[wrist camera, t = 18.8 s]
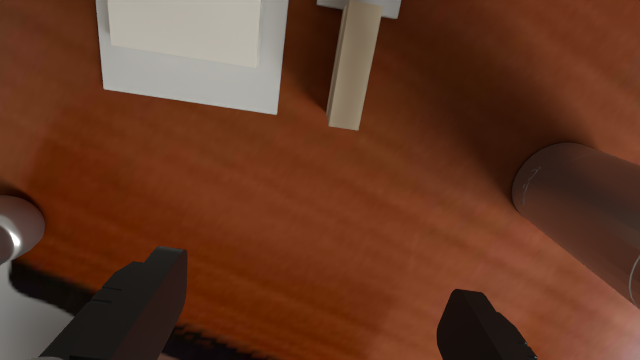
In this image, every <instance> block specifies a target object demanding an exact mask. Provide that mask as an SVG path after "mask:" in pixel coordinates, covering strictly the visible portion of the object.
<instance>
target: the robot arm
mask: <svg viewBox="0 0 640 360" xmlns="http://www.w3.org/2000/svg"><path fill="white" fill-rule="evenodd" d="M512 199H513V203H514V205H515V207H516V209H517V210H518V212H519V213H520V214H521V215H522V216H523V217H525V218H526V219H527V220H528V221H530V222H531V223H532V224H533V225H535V226H536V227H537V228H538V229H540V230H541V231H542V232H543V233H544V234H546V235H547V236H548V237H549V238H551V239H552V240H553V241H554V242H556V243H557V244H558V245H560V246H561V247H562V248H563V249H565V250H566V251H567V252H568V253H570V254H571V255H572V256H573V257H575V258H576V259H577V260H578V261H580V262H581V263H582V264H583V265H585V266H586V267H587V268H588V269H590V270H591V271H592V272H593V273H595V274H596V275H597V276H598V277H600V278H601V279H602V280H603V281H605V282H606V283H607V284H608V285H610V286H611V287H612V288H613V289H615V290H616V291H617V292H618V293H620V294H621V295H622V296H623V297H625V298H626V299H627V300H628V301H630V302H631V303H632V304H633V305H635V306H636V307H637V308H638V309H640V165H637V164H634V163H632V162H629V161H626V160H623V159H620V158H618V157H615V156H612V155H610V154H607V153H604V152H601V151H598V150H596V149H593V148H590V147H587V146H584V145H581V144H578V143H572V142H567V143H558V144H554V145H550V146H548V147H546V148H544V149H541V150H540V151H538V152H537V153H535V154H534V155H532V156H531V157H530V158H529V159H528V160H527V161H526V162H525V163H524V164H523V166H522V167H521V168H520V170H519V171H518V173H517V175H516V177H515V179H514V183H513V186H512ZM186 287H187V251H186V250H184V249H177V248H170V247H163V246H158V247H157V248H156V249H155V250H154V251H153V252H152V253H151V255H150V256H149V257H148V258H147V260H146V261H145V262H144V263H142V262H135V261H134V262H132V263H130V264H129V265H127V266H125V267H123V268H122V269H120V270H118V271H117V272H115V273H114V274H113V275H112V276H111V278H110V279H109V280H108V281H107V282H106V283H105V284H104V285H103V286H102V289H101V290H99V291H98V292H97V293H96V294H95V295H94V296H93V297H92V299H91V301H90V303H87V304H86V305H85V306H84V307H83V309H82V310H81V311H80V312H79V313H78V314H77V315H76V316H75V317H74V318H73V320H72V321H71V322H70V323H69V324H68V325H67V326H66V327H65V328H64V330H63V331H62V332H61V333H60V334H59V335H58V336H57V337H56V338H55V340H54V341H53V342H52V343H51V344H50V345H49V346H48V347H47V348H46V350H45V351H44V352H43V353H42V354H41V355H40V356H39V357H38V358H33V359H29V360H157V359H158V357H159V355H160V353H161V351H162V349H163V347H164V345H165V343H166V341H167V339H168V338H169V336H170V334H171V332H172V330H173V328H174V326H175V324H176V322H177V320H178V318H179V316H180V314H181V312H182V309H183V306H184V302H185V298H186ZM437 345H438V348H439V351H440V353H441V356H442V358H443V360H537V356H536V355H535V353H534V352H533V351H532V349H531V348H530V347H528V346H527V342H526V341H525V339H524V338H523V337H522V335H521V334H520V332H519V331H518V330H517V328H516V327H515V326H514V325H513V324H512V323H511V322H509V321H508V320H507V319H506V318H505V317H504V316H503V315H502V314H500V313H499V312H496V311H495V309H494V308H493V306H492V305H491V303H490V302H489V300H488V299H487V297H486V296H485V295H484V294H483V293H481V292H476V291H468V290H461V289H455V290H454V291H453V292H452V293H451V295H450V298H449V300H448V303H447V305H446V308H445V310H444V312H443V315H442V317H441V320H440V322H439V325H438V328H437Z"/></svg>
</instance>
